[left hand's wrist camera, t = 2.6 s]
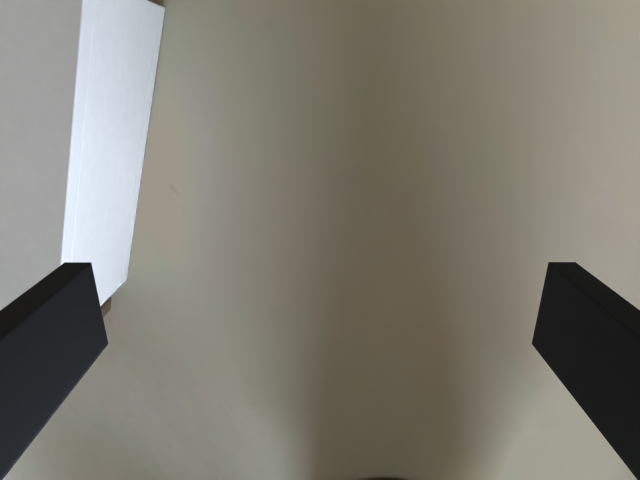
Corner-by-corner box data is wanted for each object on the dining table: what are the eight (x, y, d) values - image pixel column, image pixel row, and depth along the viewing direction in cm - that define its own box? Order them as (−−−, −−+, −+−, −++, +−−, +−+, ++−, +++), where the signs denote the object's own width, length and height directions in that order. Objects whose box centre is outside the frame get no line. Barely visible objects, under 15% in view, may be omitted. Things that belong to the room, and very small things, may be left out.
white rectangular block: (126, 279, 36) (54, 356, 26) (-21, 243, 35) (-156, 309, 25) (165, 7, 29) (86, -29, 19) (-18, -49, 28) (-203, -118, 18)
